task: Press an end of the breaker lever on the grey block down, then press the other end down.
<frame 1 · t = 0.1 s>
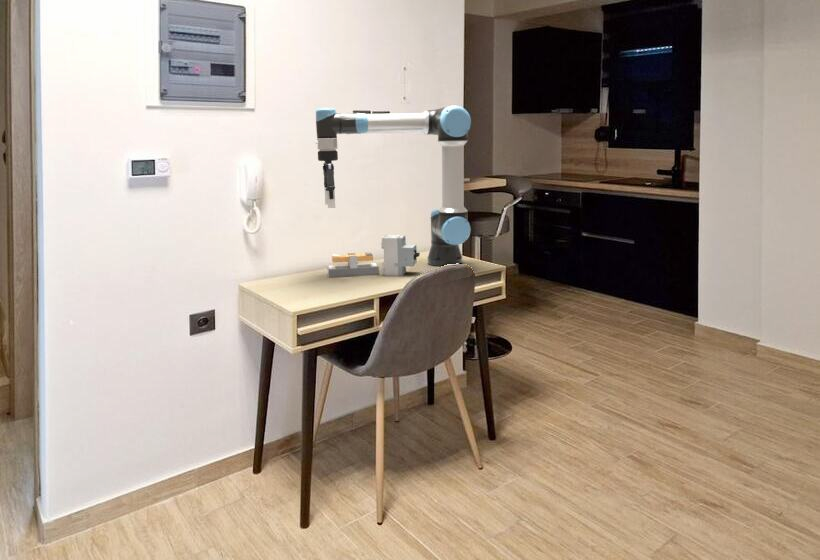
hand: (330, 206, 250), 28 cm above the table, fingers open, 13 cm apart
circuit breaker: (401, 274, 259), on the table
breaker lever: (352, 257, 259), point 7 cm above the table, hinge at 0.0°
grey block: (353, 273, 260), on the table
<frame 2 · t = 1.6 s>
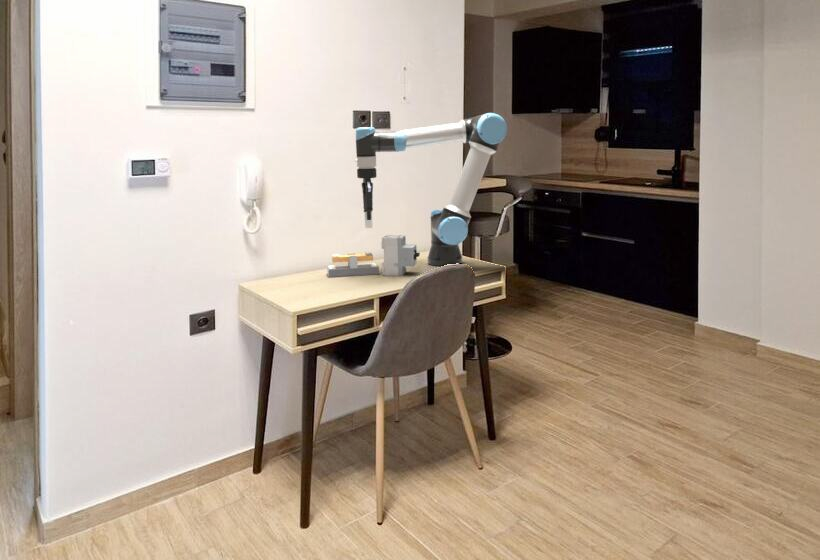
hand: (368, 227, 257), 18 cm above the table, fingers closed
nothing on the table moved.
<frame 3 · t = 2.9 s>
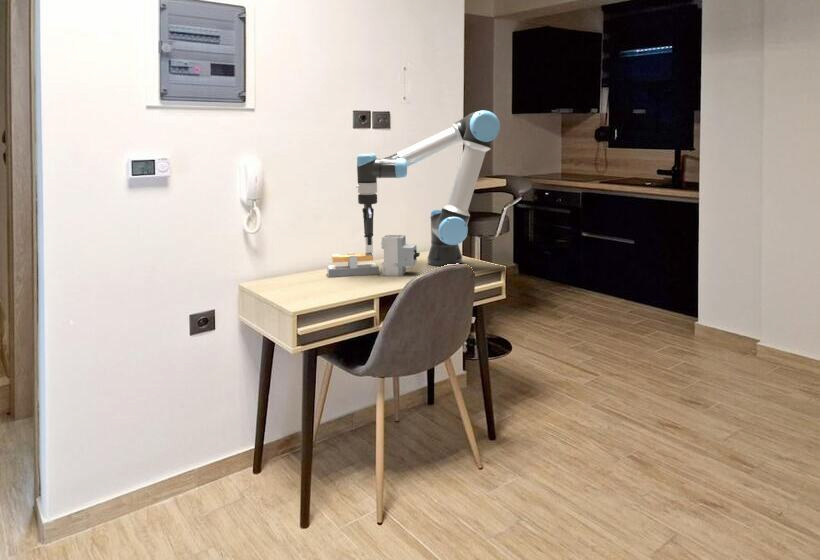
hand: (369, 252, 260), 8 cm above the table, fingers closed
breaker lever: (352, 257, 259), point 7 cm above the table, hinge at 0.0°, touching gripper
everything else where it was.
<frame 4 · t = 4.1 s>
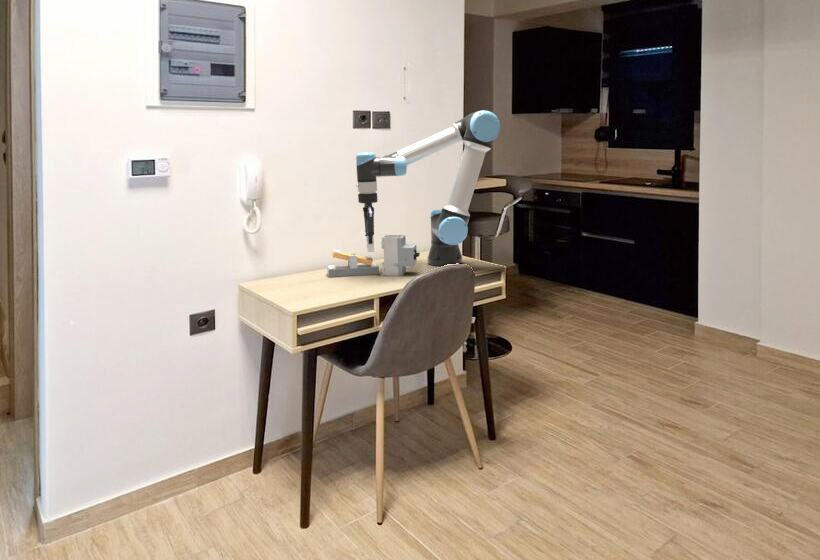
hand: (370, 251, 260), 9 cm above the table, fingers closed
breaker lever: (352, 257, 259), point 7 cm above the table, hinge at -15.5°, touching grey block
everything else where it was.
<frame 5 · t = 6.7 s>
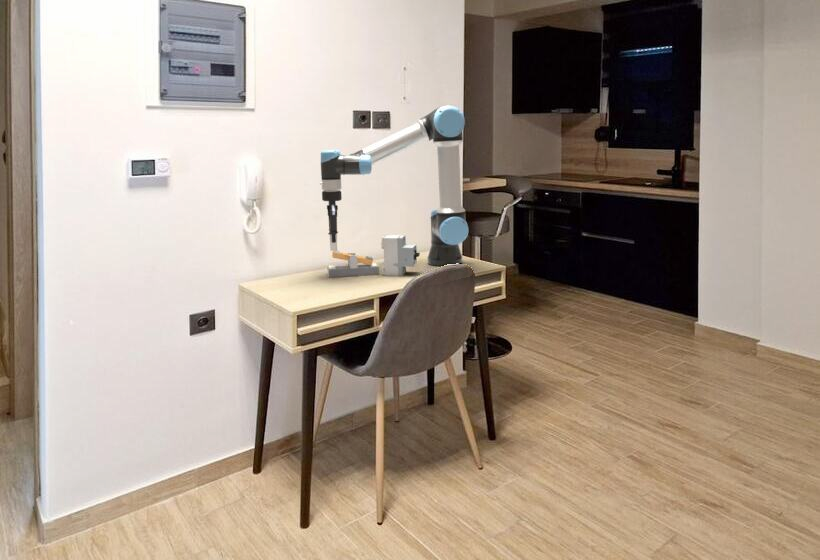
hand: (333, 250, 257), 10 cm above the table, fingers closed
breaker lever: (352, 257, 259), point 7 cm above the table, hinge at -14.2°, touching gripper
everything else where it was.
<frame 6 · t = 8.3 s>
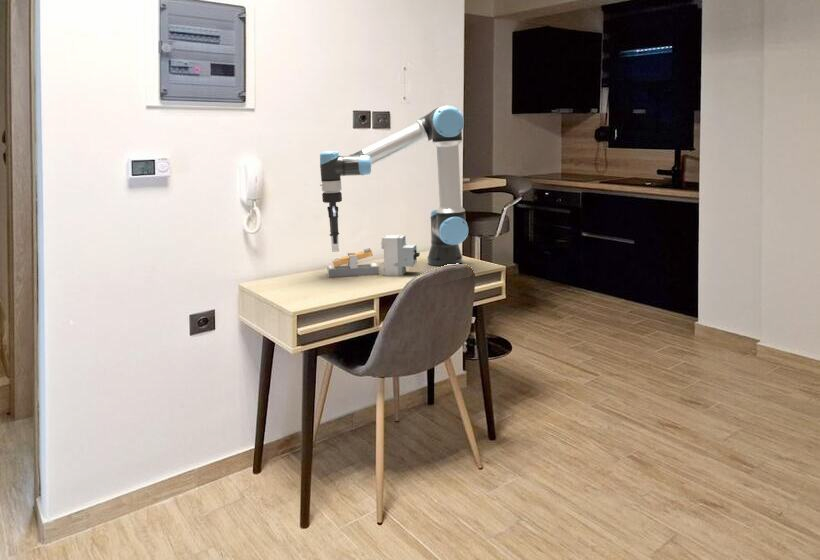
hand: (335, 251, 257), 10 cm above the table, fingers closed
breaker lever: (352, 257, 259), point 7 cm above the table, hinge at 13.4°
everything else where it was.
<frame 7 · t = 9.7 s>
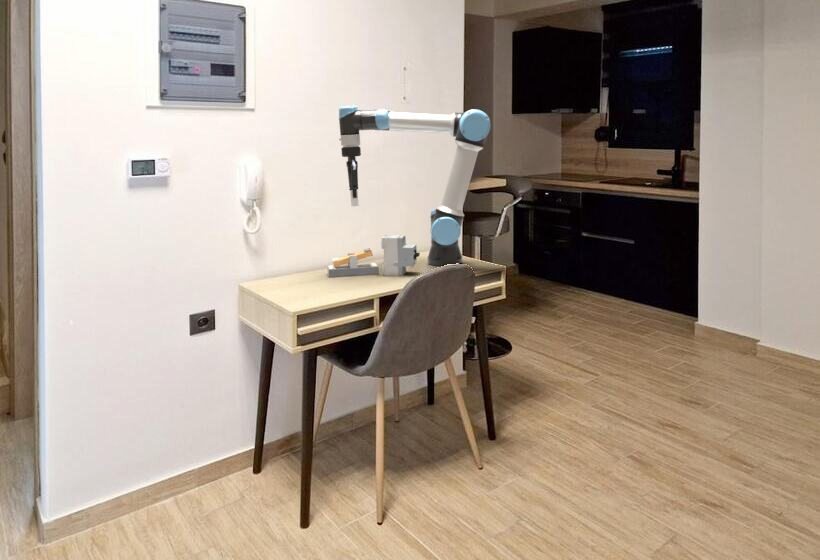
hand: (355, 205, 261), 27 cm above the table, fingers closed
nothing on the table moved.
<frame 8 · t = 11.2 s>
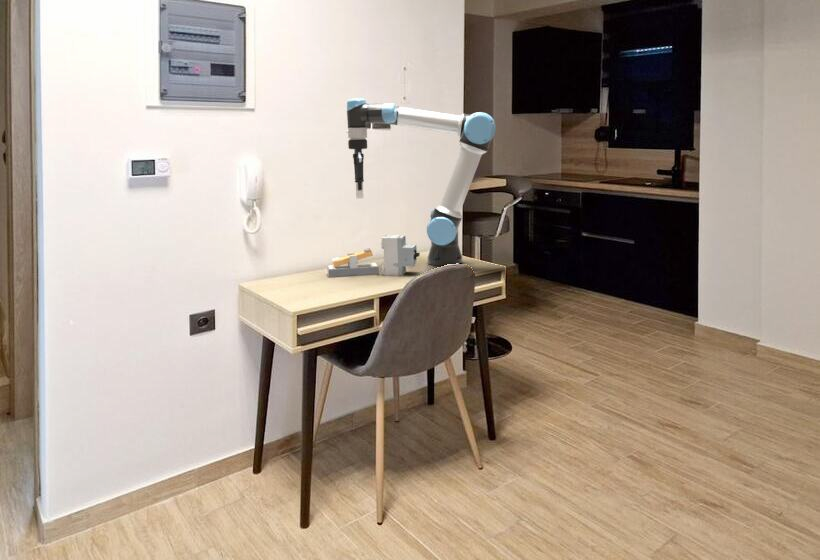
hand: (359, 198, 263), 29 cm above the table, fingers closed
nothing on the table moved.
at the end: breaker lever at +14° (first picture: +0°); circuit breaker moved 0.2 cm from its start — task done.
